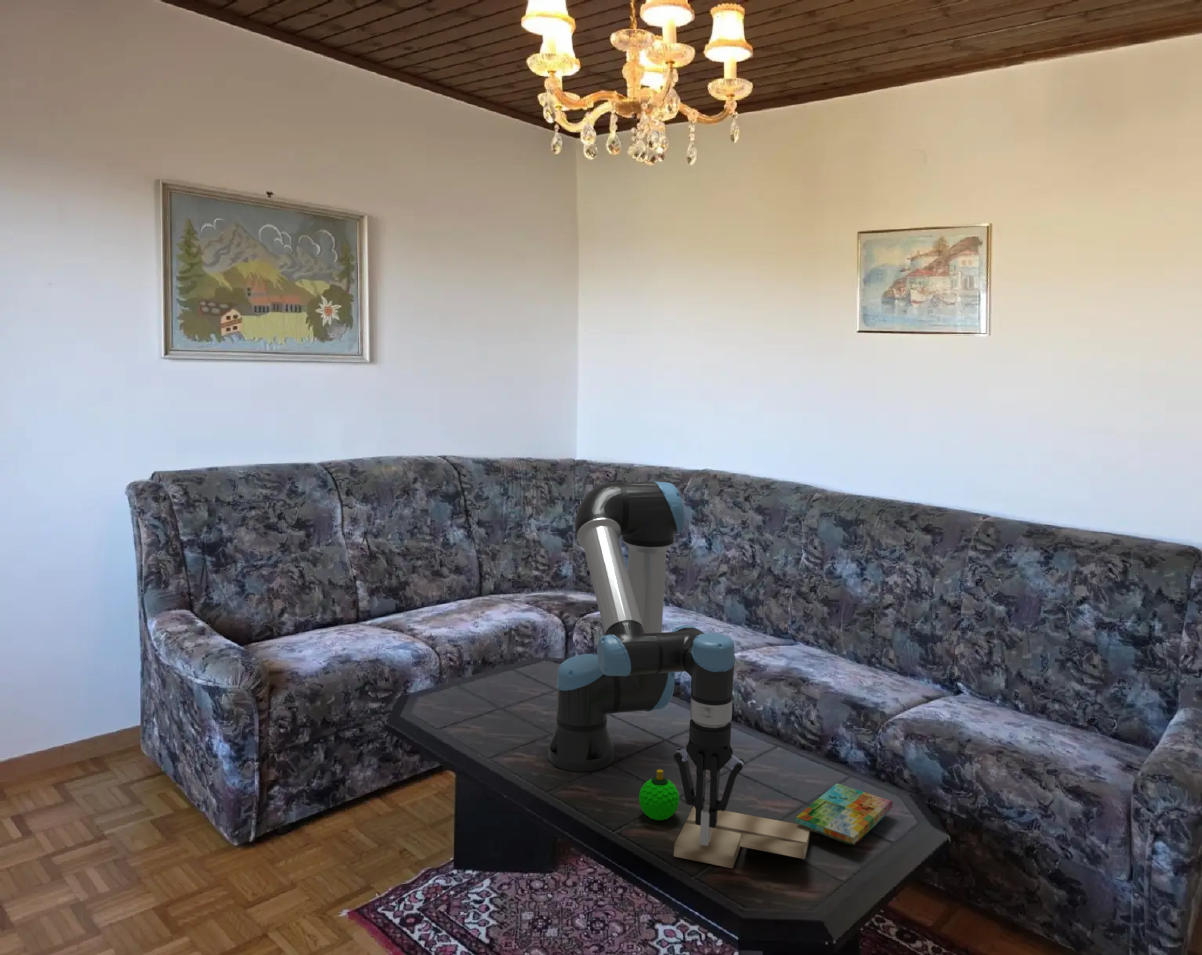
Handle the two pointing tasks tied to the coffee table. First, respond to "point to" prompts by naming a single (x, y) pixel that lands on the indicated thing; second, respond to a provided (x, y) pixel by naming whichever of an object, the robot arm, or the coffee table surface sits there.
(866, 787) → the coffee table surface
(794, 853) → the plank
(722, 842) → the plank
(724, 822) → the laid board
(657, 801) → the ornament
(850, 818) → the puzzle game
